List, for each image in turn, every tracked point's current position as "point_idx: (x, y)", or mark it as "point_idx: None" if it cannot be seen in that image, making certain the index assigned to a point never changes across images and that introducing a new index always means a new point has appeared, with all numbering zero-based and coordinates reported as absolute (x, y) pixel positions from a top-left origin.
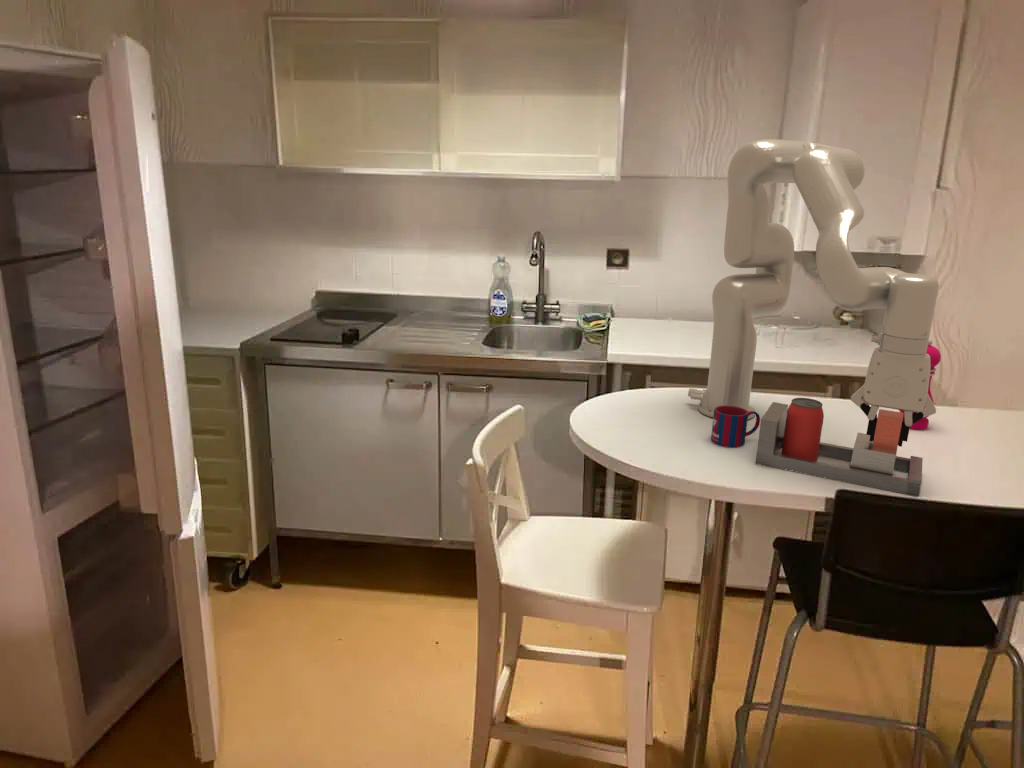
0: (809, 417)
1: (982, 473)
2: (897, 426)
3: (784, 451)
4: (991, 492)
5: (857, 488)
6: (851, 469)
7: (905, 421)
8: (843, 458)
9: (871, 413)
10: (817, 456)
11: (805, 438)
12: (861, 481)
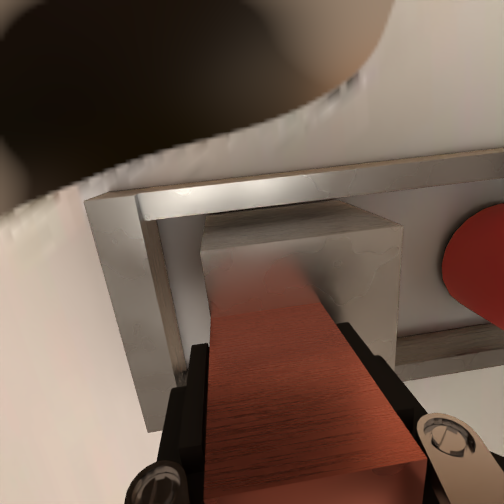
0: None
1: (16, 489)
2: (233, 419)
3: None
4: None
5: (298, 131)
6: (348, 182)
7: (183, 496)
8: None
9: (476, 466)
10: (454, 272)
11: None
12: (296, 172)
